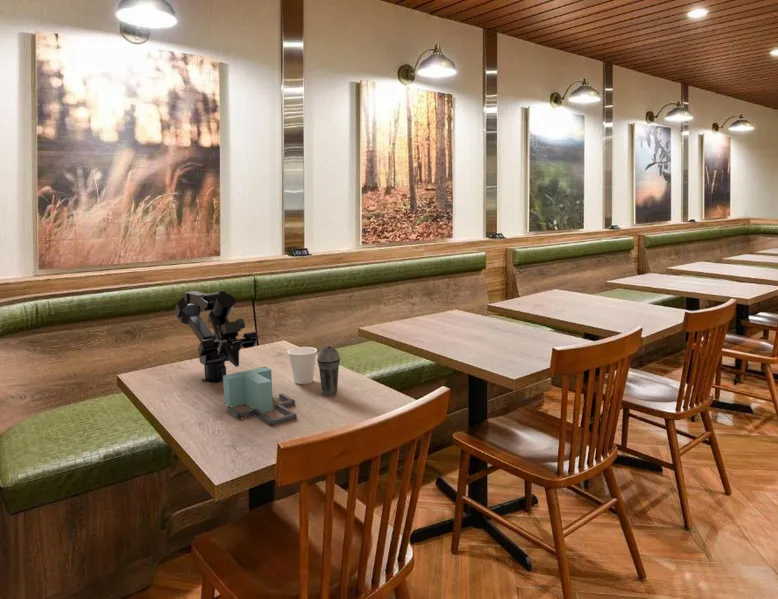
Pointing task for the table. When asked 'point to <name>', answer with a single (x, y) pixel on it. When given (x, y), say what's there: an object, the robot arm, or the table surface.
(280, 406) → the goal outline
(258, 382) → the t block
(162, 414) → the table surface
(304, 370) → the cup
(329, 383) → the beverage cup
